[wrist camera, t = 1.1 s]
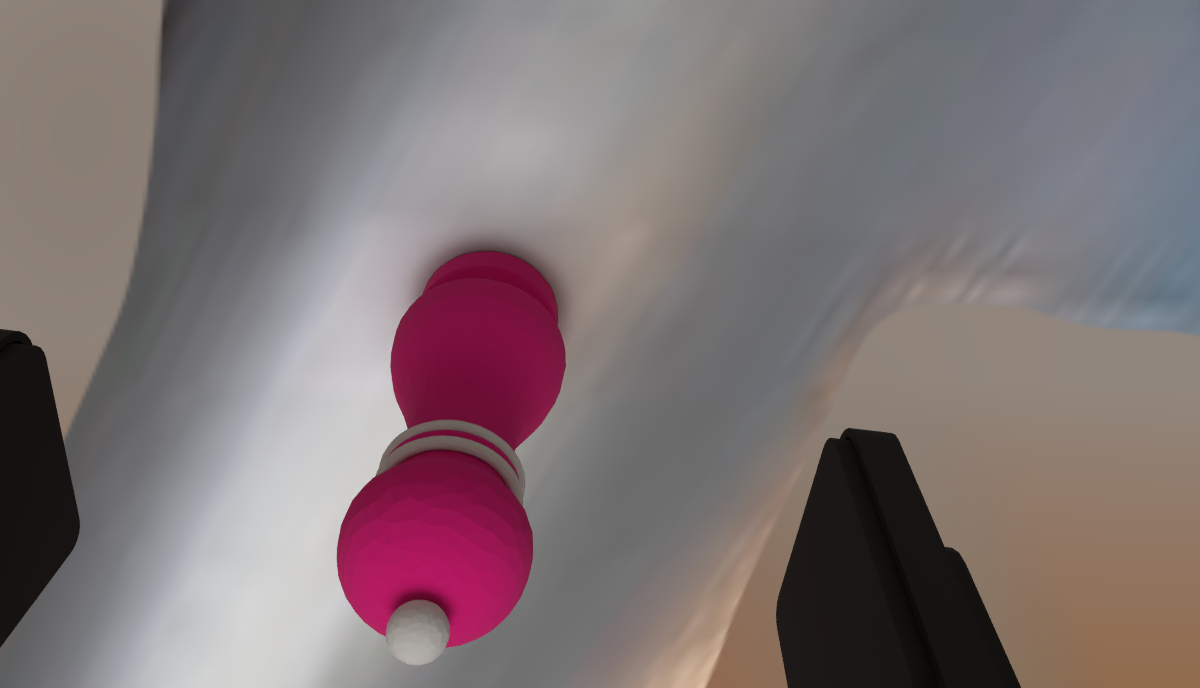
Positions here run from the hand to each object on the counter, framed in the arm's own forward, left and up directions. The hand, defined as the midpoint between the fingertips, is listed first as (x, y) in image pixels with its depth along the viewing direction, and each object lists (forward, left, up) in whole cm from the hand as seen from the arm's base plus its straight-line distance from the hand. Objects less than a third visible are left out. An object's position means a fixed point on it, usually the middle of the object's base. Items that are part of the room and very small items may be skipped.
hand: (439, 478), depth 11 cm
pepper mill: (0, +13, -29) cm, 32 cm away
